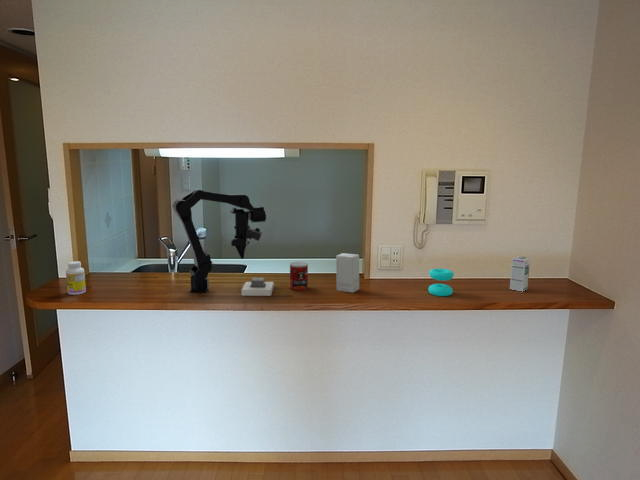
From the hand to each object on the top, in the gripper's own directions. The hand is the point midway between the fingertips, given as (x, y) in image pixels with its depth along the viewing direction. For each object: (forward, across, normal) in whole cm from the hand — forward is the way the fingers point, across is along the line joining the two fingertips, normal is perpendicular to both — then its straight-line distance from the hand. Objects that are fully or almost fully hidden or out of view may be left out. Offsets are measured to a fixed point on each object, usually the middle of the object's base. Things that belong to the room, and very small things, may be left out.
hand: (242, 258), depth 194 cm
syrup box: (+12, -5, -121) cm, 122 cm away
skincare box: (+12, -7, -46) cm, 48 cm away
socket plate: (+12, -10, -8) cm, 18 cm away
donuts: (+12, -11, -85) cm, 87 cm away
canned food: (+12, -5, -25) cm, 28 cm away
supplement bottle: (+12, -14, +66) cm, 69 cm away
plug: (+11, -10, -8) cm, 17 cm away
